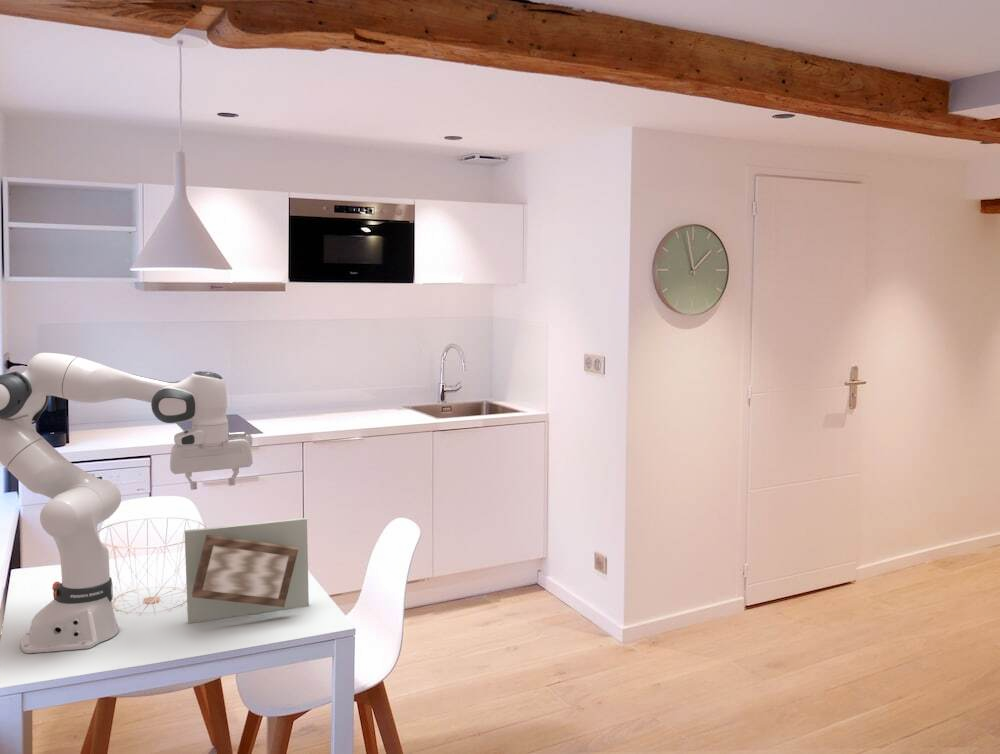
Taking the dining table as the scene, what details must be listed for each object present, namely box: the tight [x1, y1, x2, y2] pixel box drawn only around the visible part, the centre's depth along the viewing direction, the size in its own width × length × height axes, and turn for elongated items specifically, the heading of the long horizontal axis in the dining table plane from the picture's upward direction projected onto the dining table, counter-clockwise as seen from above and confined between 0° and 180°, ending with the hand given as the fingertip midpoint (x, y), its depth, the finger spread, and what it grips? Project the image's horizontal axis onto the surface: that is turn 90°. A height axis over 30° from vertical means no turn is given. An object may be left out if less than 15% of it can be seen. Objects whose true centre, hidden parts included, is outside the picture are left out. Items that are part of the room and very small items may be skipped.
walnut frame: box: [192, 535, 298, 607], centre depth 230 cm, size 24×2×16 cm, turn 115°
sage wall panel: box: [184, 517, 310, 624], centre depth 235 cm, size 32×6×25 cm, turn 114°
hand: (213, 487), depth 225 cm, fingers open, 8 cm apart
